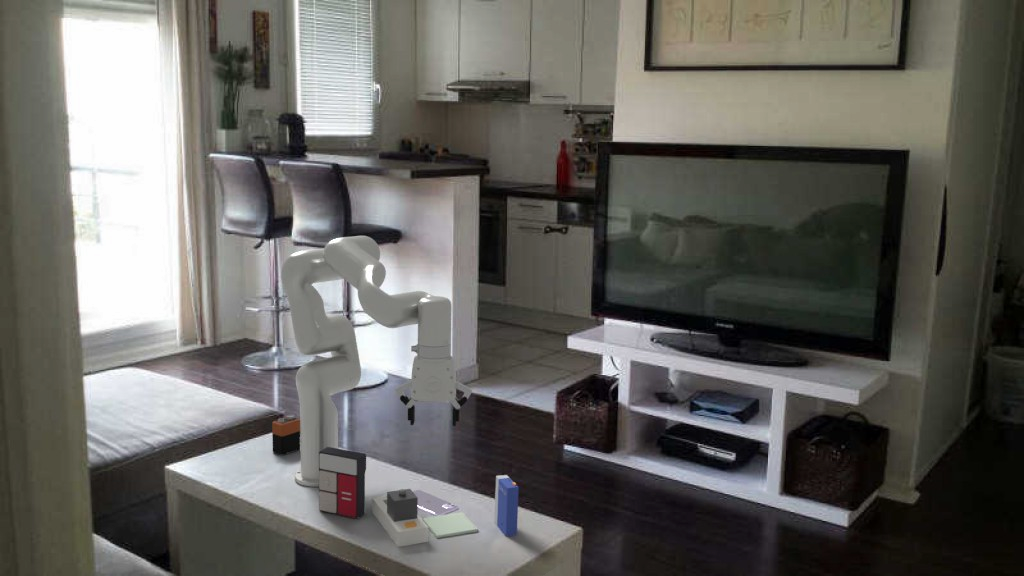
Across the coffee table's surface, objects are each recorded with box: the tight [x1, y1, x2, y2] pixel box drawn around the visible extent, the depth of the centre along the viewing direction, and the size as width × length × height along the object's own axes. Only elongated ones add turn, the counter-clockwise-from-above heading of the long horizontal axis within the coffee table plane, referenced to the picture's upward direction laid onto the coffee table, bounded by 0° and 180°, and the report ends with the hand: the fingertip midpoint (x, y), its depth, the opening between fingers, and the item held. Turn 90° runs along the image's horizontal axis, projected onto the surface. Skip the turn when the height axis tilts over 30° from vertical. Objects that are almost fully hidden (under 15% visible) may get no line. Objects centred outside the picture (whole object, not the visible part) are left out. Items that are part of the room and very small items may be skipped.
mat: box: [421, 511, 479, 539], centre depth 212 cm, size 10×10×1 cm
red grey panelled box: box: [318, 447, 367, 519], centre depth 217 cm, size 11×4×15 cm, turn 68°
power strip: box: [371, 495, 429, 548], centre depth 211 cm, size 20×7×4 cm, turn 25°
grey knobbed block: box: [386, 488, 419, 522], centre depth 209 cm, size 6×6×8 cm
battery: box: [271, 414, 301, 456], centre depth 256 cm, size 4×7×10 cm, turn 145°
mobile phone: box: [412, 489, 459, 516], centre depth 225 cm, size 8×1×15 cm
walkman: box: [493, 474, 520, 537], centre depth 211 cm, size 8×3×12 cm, turn 21°
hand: (433, 423), depth 209 cm, fingers open, 9 cm apart
